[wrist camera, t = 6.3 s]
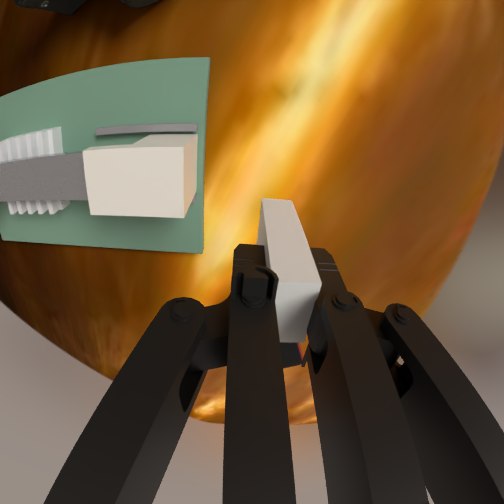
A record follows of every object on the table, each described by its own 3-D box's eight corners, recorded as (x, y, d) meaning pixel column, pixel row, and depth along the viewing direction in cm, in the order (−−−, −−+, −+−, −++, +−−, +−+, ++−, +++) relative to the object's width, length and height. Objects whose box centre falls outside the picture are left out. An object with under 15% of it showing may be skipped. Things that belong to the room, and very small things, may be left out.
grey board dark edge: (-13, 198, 20) (-20, 203, 19) (-20, 165, 18) (-27, 169, 17) (94, 195, 21) (87, 201, 20) (89, 149, 18) (81, 153, 17)
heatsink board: (-15, 104, 17) (-50, 116, 12) (210, 58, 18) (198, 48, 13) (6, 236, 26) (-19, 261, 21) (203, 248, 28) (194, 286, 23)
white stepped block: (114, 136, 21) (82, 150, 16) (197, 133, 21) (183, 146, 16) (117, 189, 23) (90, 215, 19) (196, 190, 24) (184, 218, 19)
